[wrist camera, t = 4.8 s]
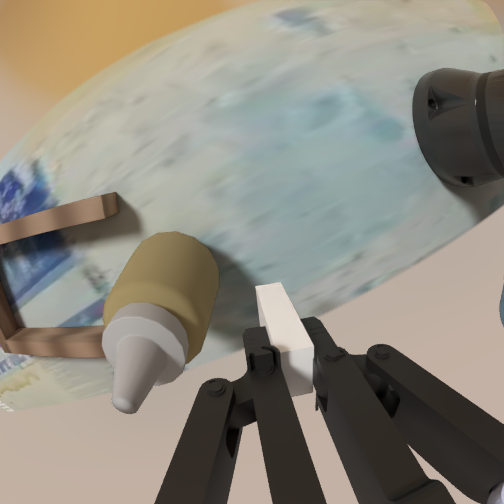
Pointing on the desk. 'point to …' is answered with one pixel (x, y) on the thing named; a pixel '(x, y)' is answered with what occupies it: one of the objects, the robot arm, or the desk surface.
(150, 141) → the desk surface
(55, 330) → the bottle rest
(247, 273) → the desk surface
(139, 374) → the squeeze bottle
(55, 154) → the desk surface
